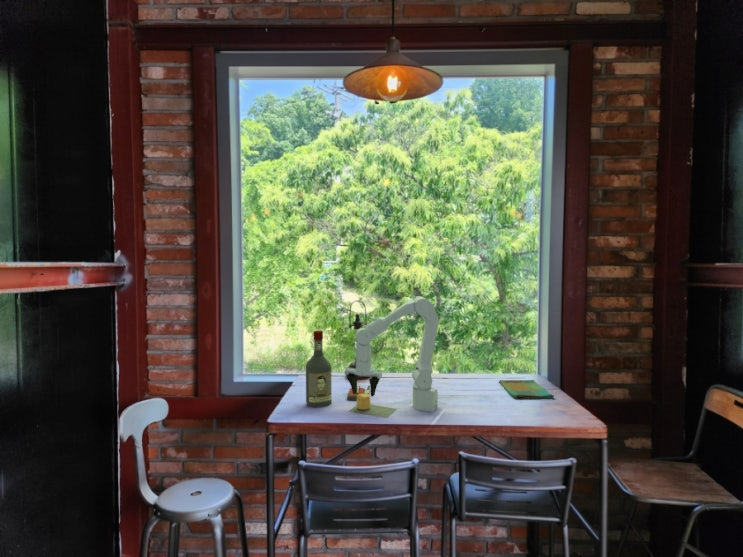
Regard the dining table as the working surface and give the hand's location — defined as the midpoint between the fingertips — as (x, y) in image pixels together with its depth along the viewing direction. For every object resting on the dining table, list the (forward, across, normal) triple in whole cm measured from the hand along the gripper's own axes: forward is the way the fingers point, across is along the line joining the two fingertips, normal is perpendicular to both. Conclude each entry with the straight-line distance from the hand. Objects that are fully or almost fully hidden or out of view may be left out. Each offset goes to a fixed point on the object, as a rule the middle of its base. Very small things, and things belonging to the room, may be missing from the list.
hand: (363, 394), depth 167 cm
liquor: (+7, -19, -2) cm, 20 cm away
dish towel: (+8, +54, +52) cm, 76 cm away
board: (+7, +4, 0) cm, 8 cm away
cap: (+5, 0, 0) cm, 5 cm away
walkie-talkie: (+7, -9, +15) cm, 19 cm away
